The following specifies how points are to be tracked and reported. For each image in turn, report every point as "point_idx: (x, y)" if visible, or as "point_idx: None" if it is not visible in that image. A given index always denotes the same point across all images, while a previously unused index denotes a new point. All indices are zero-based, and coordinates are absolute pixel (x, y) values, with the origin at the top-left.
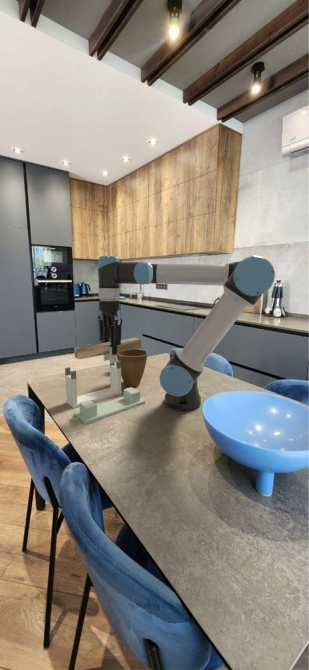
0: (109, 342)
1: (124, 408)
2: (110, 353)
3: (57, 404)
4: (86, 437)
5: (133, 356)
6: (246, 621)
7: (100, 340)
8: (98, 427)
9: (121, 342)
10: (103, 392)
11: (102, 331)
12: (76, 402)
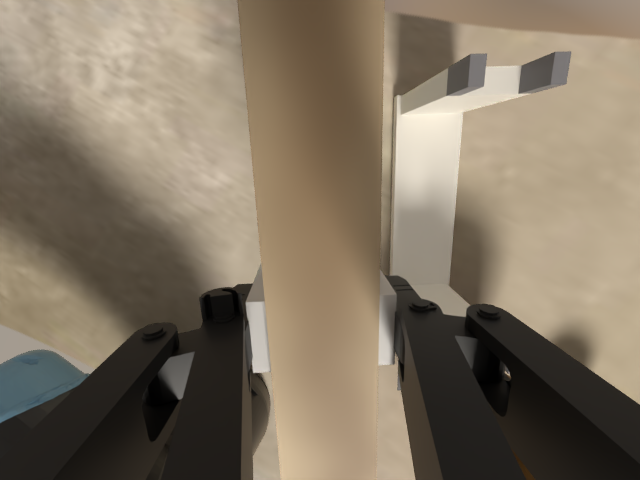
0: (356, 356)
1: None
2: (259, 273)
3: None
4: (177, 41)
5: (526, 474)
6: None
7: (481, 306)
8: (215, 107)
9: (279, 450)
10: (425, 242)
11: (555, 424)
12: (402, 109)
